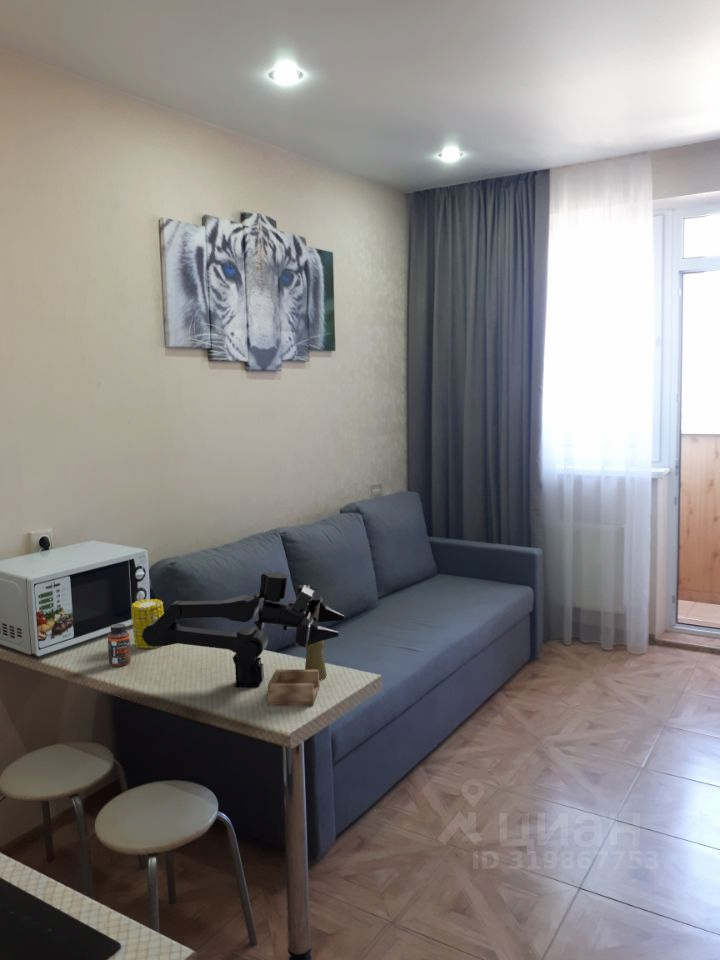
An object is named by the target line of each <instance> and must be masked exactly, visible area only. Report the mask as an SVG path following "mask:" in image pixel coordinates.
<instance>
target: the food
mask: <svg viewBox="0 0 720 960" xmlns="http://www.w3.org/2000/svg"><path fill="white" fill-rule="evenodd" d="M163 605H164V602H163V601H162V600H161V599H157V598H154V599H148V598H147V599H146V598H145V599H139V600H135V601H134V602H132V604H131V607H130V609H131V617H132V618H131V619H132V623H131V624H132V631H133V638H134V640H133V641H134V644H135V645H134V647H136V648H137V649H154V648H155V649H159V647H160V646H157V647H151V646H148V645H147V644H146V643H145V641H144V640H143V636H142V634H143V630H144V629H145V628H146V627H147V626H148V625H150V624H151V623H152V622H154V621H155V620H157V619H159V618H160V617H161V616H162V615H163V614H164V613H165V612H164V610H165V609H164V606H163Z"/></svg>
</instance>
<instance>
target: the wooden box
mask: <svg viewBox="0 0 720 960" xmlns="http://www.w3.org/2000/svg"><path fill="white" fill-rule="evenodd" d="M320 686H321V685H320V681H319V669H311V670H305V669H275V671H274V673H273V674H272V675H271V678H270V680H269V682H268V684H267V706H268V707H269V706H270V707H276V706H277V707H279V706H281V707H284V706H285V707H288V706H289V707H291V706H292V707H293V706H294V707H296V706H297V707H298V706H300V707H302V706H303V707H305V706H308V707H311V706H312V707H313V706H314V705H315V701H316V698H317V696H318V694H319V693H318V692H319V690H320ZM271 705H272V706H271Z"/></svg>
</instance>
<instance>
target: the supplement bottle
mask: <svg viewBox="0 0 720 960" xmlns="http://www.w3.org/2000/svg"><path fill="white" fill-rule="evenodd" d="M126 629H127V628H126V624H125V623H115V624H114V623H113V624H112V625H110V632H109V633H108V635H107V650H108V663H109V666H111V667H123V666H127V665H129V664H130V663H131V659H132V658H131V655H132V654H131V642H130V641H131V640H130V632H129V631H127V630H126Z"/></svg>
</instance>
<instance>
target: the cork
mask: <svg viewBox="0 0 720 960" xmlns="http://www.w3.org/2000/svg"><path fill="white" fill-rule="evenodd" d="M307 641H308V640H307ZM324 646H325V640H323V641H319V642H316V643H313V644H310V646H308V642H307V645H306V648H305V650H306V653H305V654H306V655H305V665H304V670H311V669H319V680H321V679H324V678H326V676H327V677H328V675H327V669H326V664H325V662H326V661H325V658H324V657H325V656H324V653H323V651H324V650H323V648H324ZM326 679H327V678H326ZM324 680H325V679H324ZM321 681H322V680H321Z"/></svg>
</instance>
